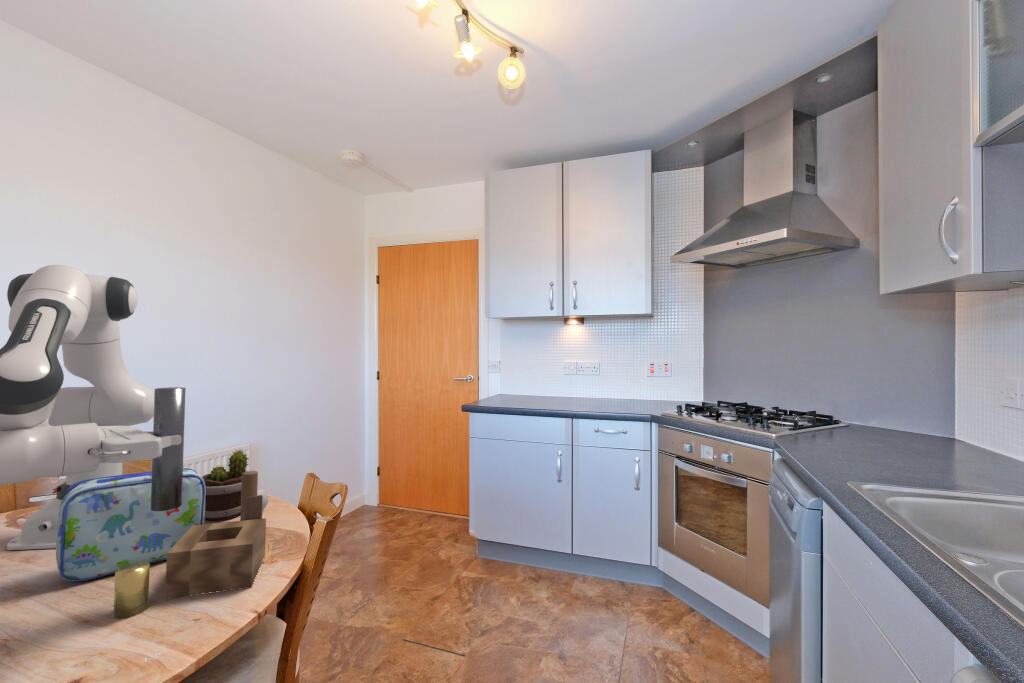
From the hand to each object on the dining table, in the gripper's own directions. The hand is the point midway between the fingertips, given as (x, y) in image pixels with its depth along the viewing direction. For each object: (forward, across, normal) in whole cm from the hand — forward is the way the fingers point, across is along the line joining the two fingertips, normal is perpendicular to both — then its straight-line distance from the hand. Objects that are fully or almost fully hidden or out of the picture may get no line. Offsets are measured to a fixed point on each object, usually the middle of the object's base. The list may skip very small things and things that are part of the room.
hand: (174, 436), depth 92 cm
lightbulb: (+25, +19, +32) cm, 45 cm away
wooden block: (+19, +9, +32) cm, 38 cm away
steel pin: (-1, 0, +14) cm, 14 cm away
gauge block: (+9, -1, +32) cm, 33 cm away
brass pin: (-7, -2, +31) cm, 32 cm away
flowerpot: (+25, +38, +32) cm, 56 cm away
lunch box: (0, +21, +32) cm, 38 cm away
